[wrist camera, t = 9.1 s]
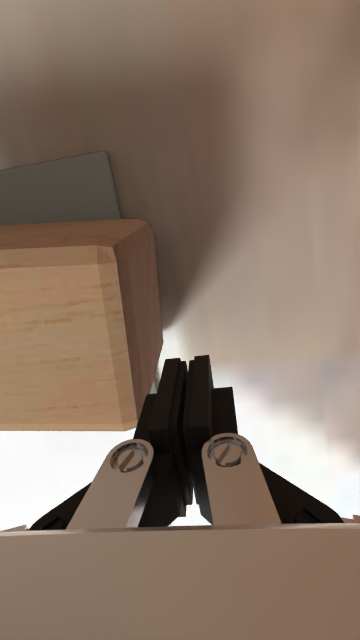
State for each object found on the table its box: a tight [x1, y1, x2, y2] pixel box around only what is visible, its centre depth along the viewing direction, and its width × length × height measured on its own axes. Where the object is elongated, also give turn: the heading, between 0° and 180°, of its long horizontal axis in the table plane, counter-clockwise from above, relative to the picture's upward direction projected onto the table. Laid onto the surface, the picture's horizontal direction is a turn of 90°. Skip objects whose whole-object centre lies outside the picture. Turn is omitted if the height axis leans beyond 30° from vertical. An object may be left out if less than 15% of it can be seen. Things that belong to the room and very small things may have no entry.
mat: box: [0, 151, 157, 394], centre depth 25 cm, size 20×20×1 cm
